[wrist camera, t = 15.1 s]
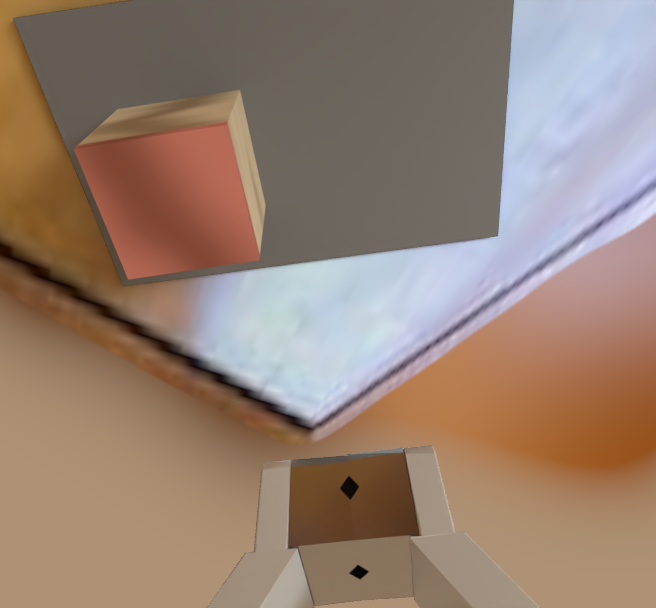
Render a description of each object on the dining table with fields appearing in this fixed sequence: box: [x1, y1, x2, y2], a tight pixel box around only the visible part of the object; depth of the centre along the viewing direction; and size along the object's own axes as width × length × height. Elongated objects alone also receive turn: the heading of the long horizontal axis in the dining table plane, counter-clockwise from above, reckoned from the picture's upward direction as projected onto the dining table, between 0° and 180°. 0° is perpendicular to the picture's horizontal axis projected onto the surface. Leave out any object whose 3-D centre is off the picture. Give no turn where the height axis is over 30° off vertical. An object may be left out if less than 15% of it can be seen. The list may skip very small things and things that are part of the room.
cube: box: [74, 90, 266, 280], centre depth 24 cm, size 6×6×6 cm
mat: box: [13, 0, 514, 286], centre depth 27 cm, size 22×14×1 cm, turn 97°
